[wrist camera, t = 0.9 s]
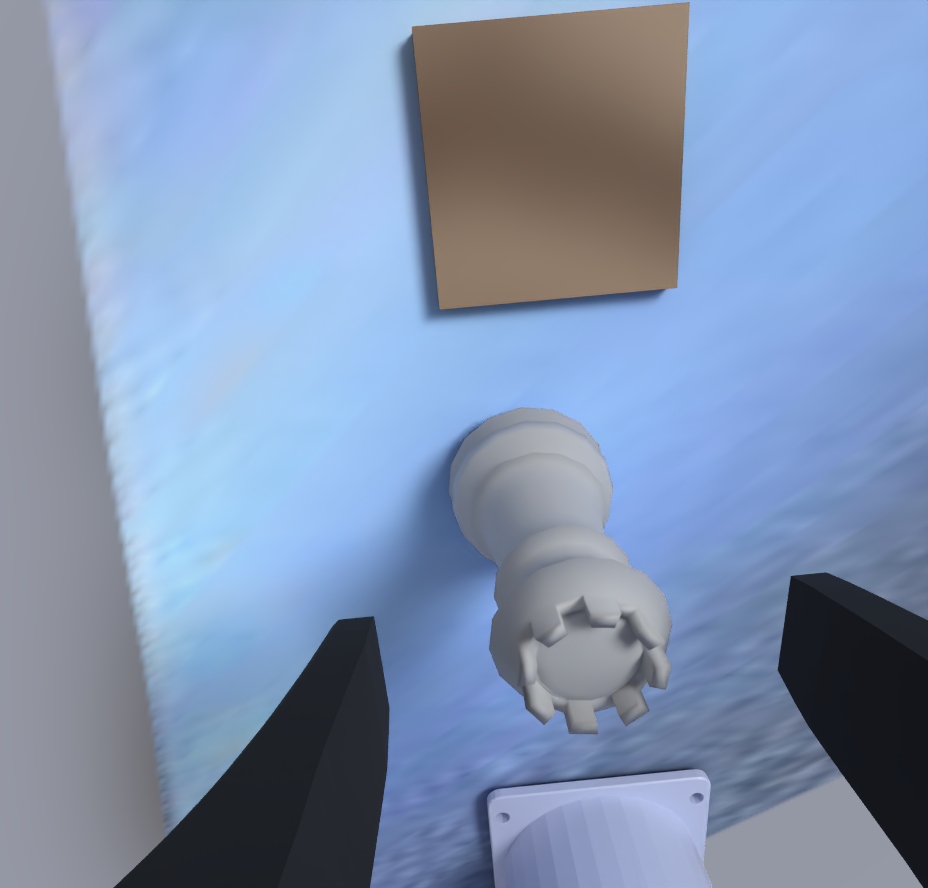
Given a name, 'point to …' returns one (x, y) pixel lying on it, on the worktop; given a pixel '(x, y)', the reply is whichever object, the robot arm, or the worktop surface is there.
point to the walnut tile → (554, 152)
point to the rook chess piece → (558, 570)
